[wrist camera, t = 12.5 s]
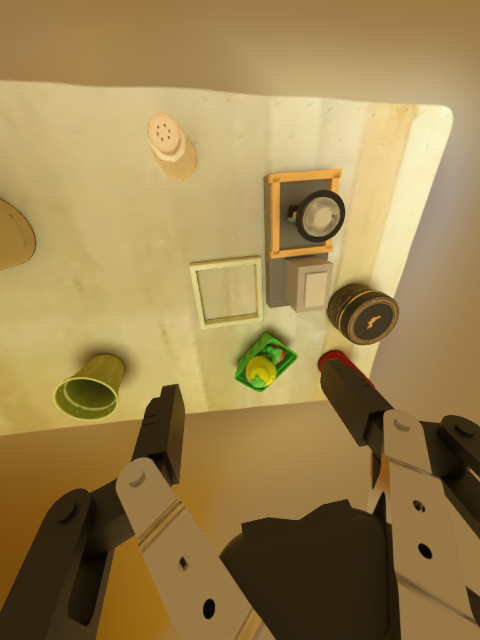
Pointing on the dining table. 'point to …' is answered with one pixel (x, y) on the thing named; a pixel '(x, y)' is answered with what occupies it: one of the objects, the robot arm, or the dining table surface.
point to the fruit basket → (264, 363)
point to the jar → (363, 314)
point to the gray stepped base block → (295, 243)
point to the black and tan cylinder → (318, 216)
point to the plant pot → (91, 390)
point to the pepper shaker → (171, 147)
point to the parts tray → (221, 264)
